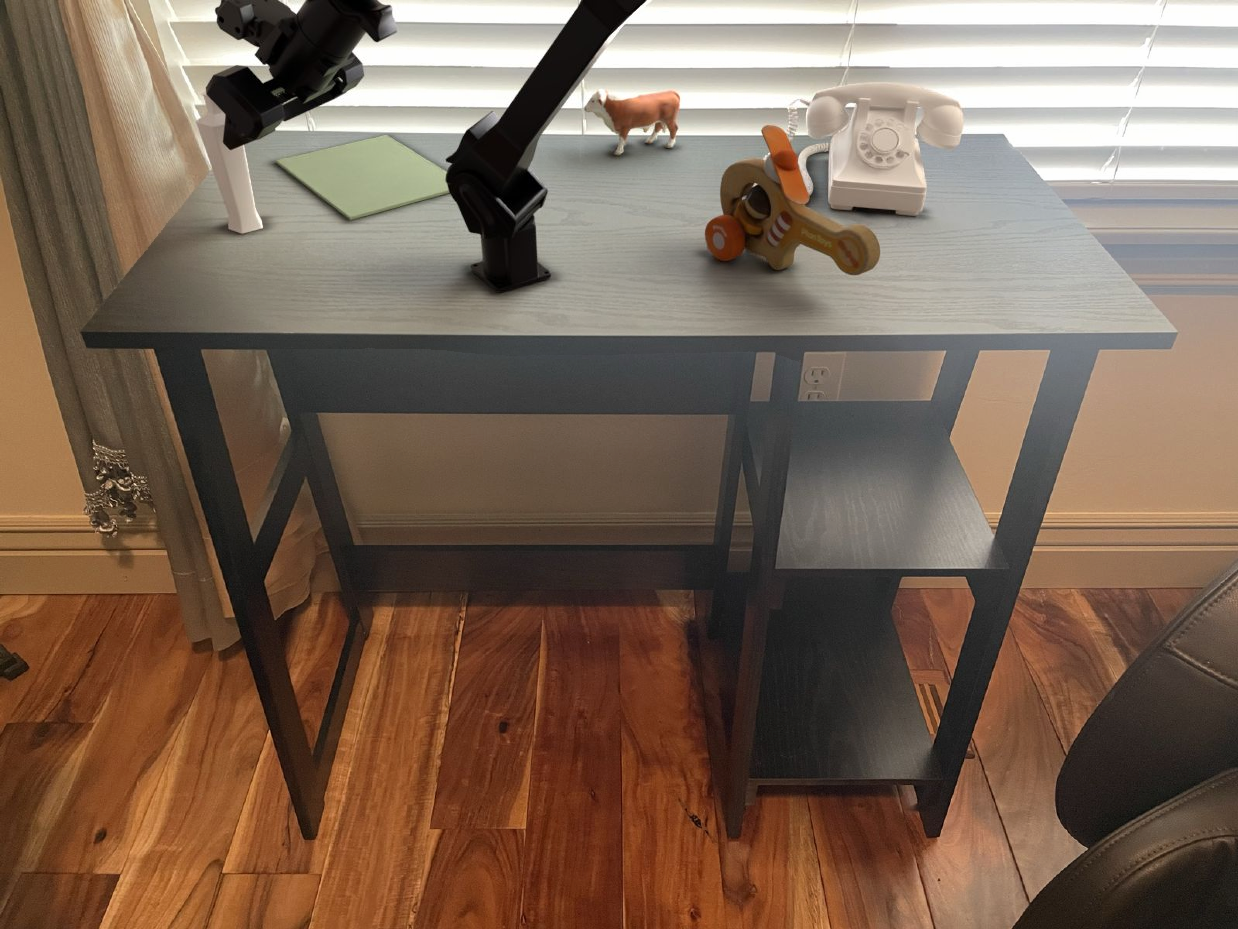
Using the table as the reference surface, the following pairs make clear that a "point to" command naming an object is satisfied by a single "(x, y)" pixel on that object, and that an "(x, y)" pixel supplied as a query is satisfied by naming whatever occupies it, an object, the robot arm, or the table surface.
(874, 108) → the telephone
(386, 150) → the mat
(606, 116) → the bull figurine
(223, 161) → the perfume bottle
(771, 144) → the toy helicopter
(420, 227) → the table surface
